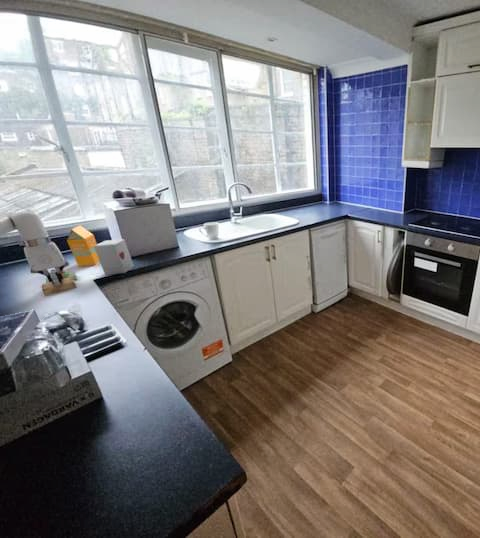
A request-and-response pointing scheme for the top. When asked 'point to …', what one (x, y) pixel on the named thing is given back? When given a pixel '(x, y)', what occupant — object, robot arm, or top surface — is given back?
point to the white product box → (114, 256)
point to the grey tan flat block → (54, 277)
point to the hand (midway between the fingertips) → (57, 281)
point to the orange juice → (83, 246)
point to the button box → (66, 276)
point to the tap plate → (58, 286)
